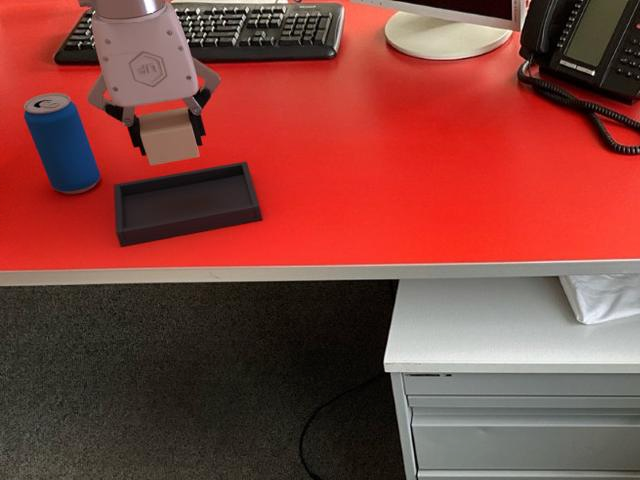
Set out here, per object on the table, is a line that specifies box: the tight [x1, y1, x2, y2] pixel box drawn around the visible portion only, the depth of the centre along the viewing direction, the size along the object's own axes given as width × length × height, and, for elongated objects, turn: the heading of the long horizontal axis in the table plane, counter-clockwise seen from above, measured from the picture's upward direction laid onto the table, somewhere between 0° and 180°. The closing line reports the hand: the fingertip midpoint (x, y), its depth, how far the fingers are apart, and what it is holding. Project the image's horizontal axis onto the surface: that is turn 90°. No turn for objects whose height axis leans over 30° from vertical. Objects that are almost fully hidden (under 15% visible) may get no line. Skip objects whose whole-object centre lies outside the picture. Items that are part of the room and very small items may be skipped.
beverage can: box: [23, 92, 102, 195], centre depth 119 cm, size 6×6×12 cm
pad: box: [138, 106, 201, 166], centre depth 111 cm, size 6×6×4 cm
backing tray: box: [113, 161, 263, 247], centre depth 117 cm, size 18×13×2 cm
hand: (171, 144), depth 112 cm, fingers closed on pad, 6 cm apart
